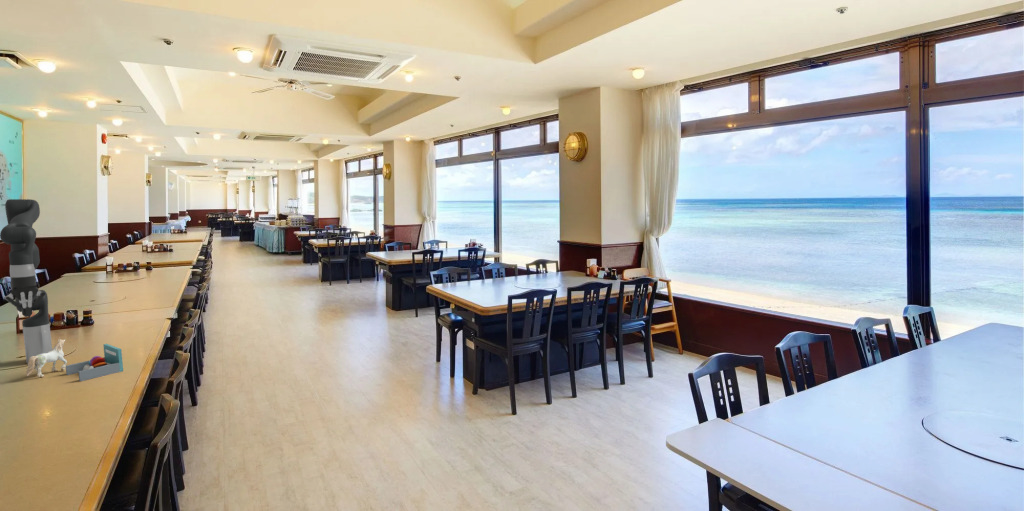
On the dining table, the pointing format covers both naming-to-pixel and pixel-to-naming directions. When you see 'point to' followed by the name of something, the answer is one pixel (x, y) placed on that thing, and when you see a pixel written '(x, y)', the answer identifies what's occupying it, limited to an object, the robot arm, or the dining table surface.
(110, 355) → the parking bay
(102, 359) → the white-wheeled rainbow disc toy
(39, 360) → the unicorn figurine
